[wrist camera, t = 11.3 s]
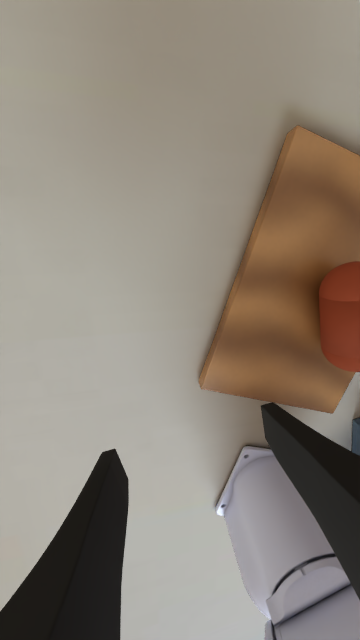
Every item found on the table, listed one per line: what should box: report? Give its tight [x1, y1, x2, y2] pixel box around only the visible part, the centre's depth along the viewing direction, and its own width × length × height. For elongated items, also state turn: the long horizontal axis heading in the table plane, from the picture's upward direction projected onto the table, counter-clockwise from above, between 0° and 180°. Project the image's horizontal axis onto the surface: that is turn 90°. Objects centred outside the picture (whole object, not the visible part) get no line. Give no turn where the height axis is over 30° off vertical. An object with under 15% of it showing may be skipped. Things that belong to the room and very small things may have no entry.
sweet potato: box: [319, 261, 360, 372], centre depth 18 cm, size 8×4×4 cm, turn 13°
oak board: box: [199, 126, 360, 413], centre depth 20 cm, size 20×14×1 cm
